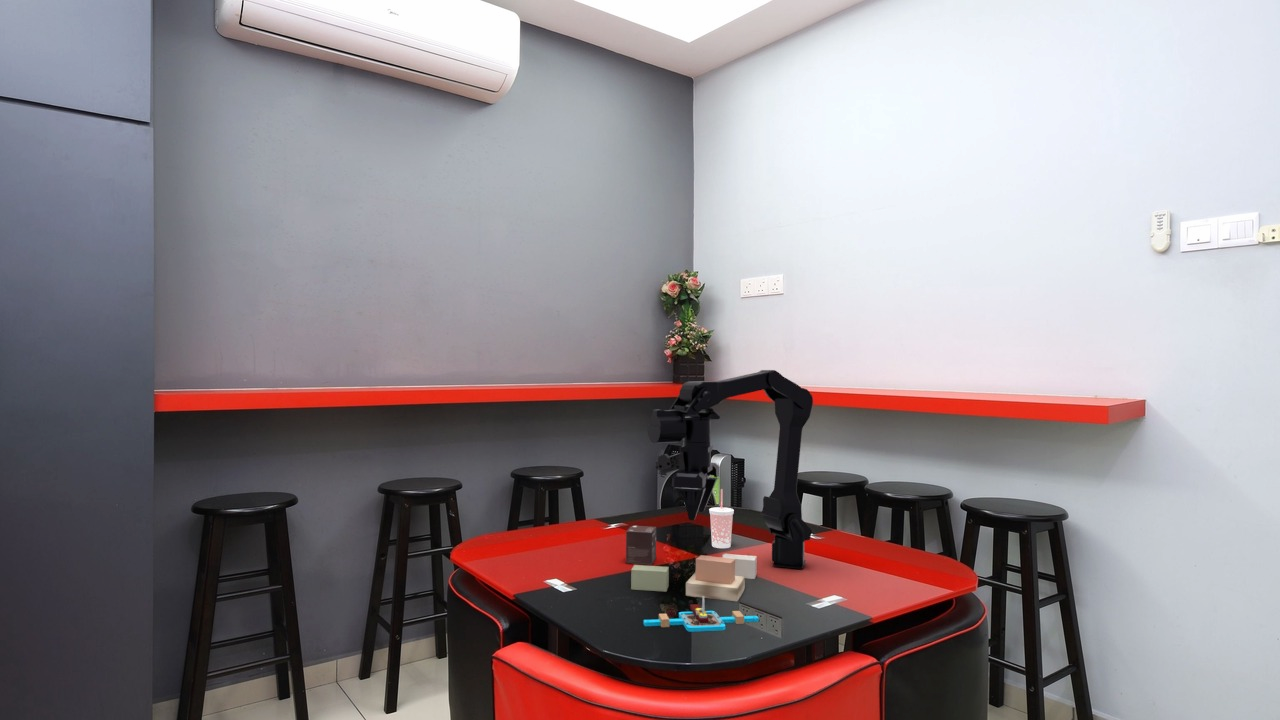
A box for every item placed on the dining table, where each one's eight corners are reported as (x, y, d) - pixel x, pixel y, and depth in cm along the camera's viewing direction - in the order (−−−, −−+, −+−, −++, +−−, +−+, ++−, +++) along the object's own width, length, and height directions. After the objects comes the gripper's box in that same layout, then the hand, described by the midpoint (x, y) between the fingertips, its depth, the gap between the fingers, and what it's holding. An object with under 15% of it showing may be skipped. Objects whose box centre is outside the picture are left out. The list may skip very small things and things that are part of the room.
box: (651, 565, 156) (652, 532, 156) (625, 563, 157) (625, 530, 157) (656, 558, 162) (656, 526, 162) (631, 556, 163) (631, 525, 163)
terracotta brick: (734, 579, 138) (735, 559, 138) (730, 584, 135) (730, 563, 135) (700, 575, 140) (701, 555, 141) (695, 579, 137) (695, 559, 137)
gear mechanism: (639, 616, 125) (647, 636, 116) (639, 586, 125) (647, 603, 116) (748, 612, 128) (764, 631, 118) (748, 582, 128) (765, 599, 119)
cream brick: (756, 575, 150) (756, 556, 150) (754, 579, 147) (754, 560, 147) (723, 572, 152) (723, 553, 152) (721, 576, 148) (721, 557, 148)
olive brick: (668, 586, 141) (668, 566, 141) (666, 592, 138) (666, 571, 138) (634, 584, 142) (634, 564, 142) (631, 590, 139) (631, 569, 139)
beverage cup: (735, 549, 171) (735, 491, 171) (709, 548, 171) (710, 491, 171) (732, 543, 177) (732, 487, 177) (707, 542, 177) (708, 487, 177)
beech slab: (744, 591, 140) (744, 576, 140) (737, 604, 132) (737, 588, 132) (695, 586, 143) (695, 571, 143) (685, 598, 135) (685, 582, 135)
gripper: (670, 436, 159) (670, 505, 158) (647, 444, 141) (647, 522, 141) (719, 437, 155) (719, 508, 155) (702, 446, 138) (701, 526, 137)
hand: (696, 515), depth 147 cm, fingers open, 9 cm apart
